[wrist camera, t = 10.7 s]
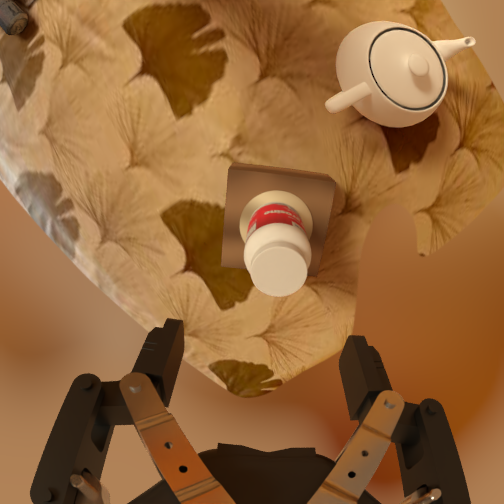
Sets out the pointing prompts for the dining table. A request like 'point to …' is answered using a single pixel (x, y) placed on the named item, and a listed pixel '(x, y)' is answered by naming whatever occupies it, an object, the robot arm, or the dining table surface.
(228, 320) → the dining table surface
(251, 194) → the pedestal
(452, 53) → the teapot
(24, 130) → the dining table surface
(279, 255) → the pill bottle
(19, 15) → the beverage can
